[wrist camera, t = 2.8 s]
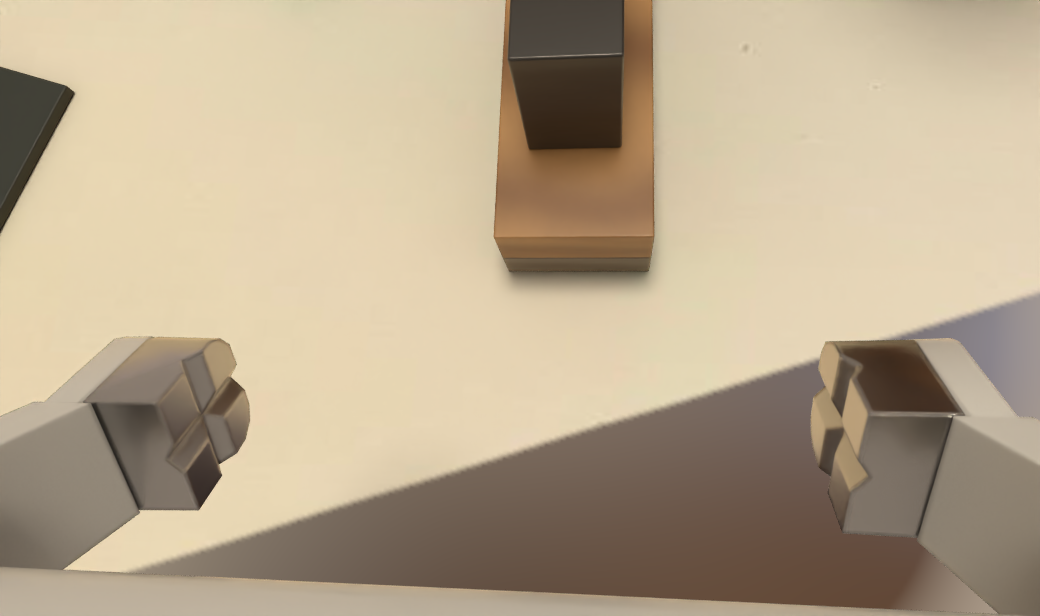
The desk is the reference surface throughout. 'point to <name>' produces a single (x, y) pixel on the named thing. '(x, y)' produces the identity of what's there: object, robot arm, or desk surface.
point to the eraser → (576, 136)
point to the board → (25, 128)
